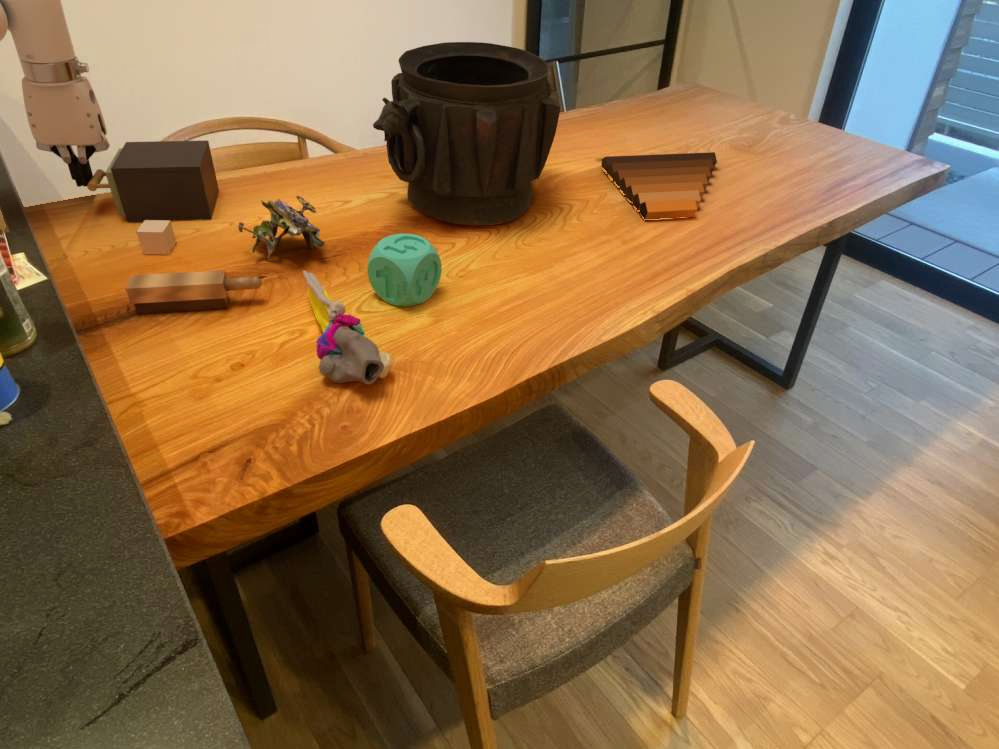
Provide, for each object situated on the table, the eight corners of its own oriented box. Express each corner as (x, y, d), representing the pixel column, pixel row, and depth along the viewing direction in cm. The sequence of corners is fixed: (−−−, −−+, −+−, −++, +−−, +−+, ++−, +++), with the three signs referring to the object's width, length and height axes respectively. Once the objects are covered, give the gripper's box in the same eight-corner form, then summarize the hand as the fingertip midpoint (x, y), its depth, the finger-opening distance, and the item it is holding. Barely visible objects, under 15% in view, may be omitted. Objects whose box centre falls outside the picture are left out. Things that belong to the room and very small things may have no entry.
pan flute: (707, 164, 152) (600, 168, 147) (710, 149, 150) (602, 153, 145) (765, 215, 133) (645, 222, 128) (770, 198, 131) (649, 205, 126)
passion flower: (313, 275, 118) (343, 235, 109) (257, 288, 110) (284, 246, 102) (282, 221, 119) (308, 177, 111) (223, 230, 111) (247, 183, 103)
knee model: (332, 325, 106) (391, 405, 87) (279, 316, 101) (330, 400, 83) (348, 269, 103) (413, 341, 84) (295, 258, 98) (352, 331, 80)
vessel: (366, 228, 120) (355, 79, 105) (413, 159, 145) (409, 30, 129) (540, 250, 118) (555, 100, 102) (557, 176, 142) (572, 46, 127)
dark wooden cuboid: (127, 222, 118) (110, 168, 112) (141, 193, 126) (125, 141, 120) (211, 219, 120) (199, 166, 114) (219, 191, 129) (208, 140, 123)
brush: (134, 315, 97) (125, 288, 94) (139, 301, 100) (130, 275, 97) (264, 307, 100) (259, 281, 97) (265, 294, 103) (260, 268, 100)
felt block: (136, 231, 107) (144, 219, 111) (143, 254, 110) (151, 242, 113) (162, 232, 108) (170, 220, 111) (169, 254, 110) (176, 242, 113)
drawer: (92, 217, 117) (76, 173, 112) (106, 191, 124) (93, 148, 120) (197, 213, 120) (186, 170, 115) (204, 188, 127) (195, 146, 123)
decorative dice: (368, 295, 104) (364, 248, 99) (401, 273, 110) (399, 227, 105) (410, 313, 101) (409, 265, 96) (442, 289, 107) (442, 243, 101)
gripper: (109, 65, 111) (136, 174, 122) (4, 61, 108) (42, 174, 119) (99, 78, 106) (127, 192, 117) (-12, 75, 102) (28, 192, 113)
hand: (84, 183), depth 118 cm, fingers closed
